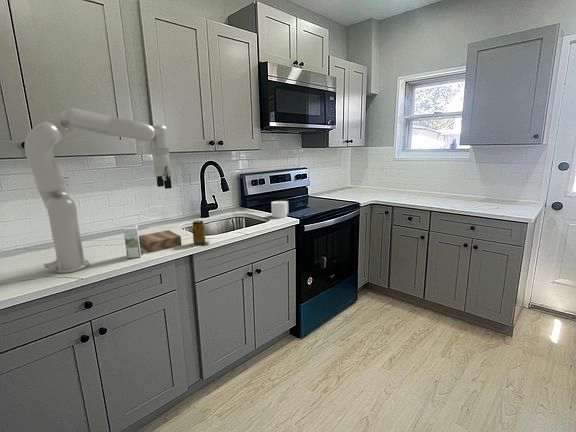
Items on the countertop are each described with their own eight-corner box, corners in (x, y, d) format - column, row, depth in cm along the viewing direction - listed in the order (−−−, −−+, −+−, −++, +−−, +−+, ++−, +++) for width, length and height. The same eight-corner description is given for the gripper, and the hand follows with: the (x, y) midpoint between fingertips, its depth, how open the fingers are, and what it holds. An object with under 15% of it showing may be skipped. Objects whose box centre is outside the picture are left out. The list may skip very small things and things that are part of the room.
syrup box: (141, 253, 154) (137, 224, 150) (140, 257, 148) (136, 227, 145) (128, 255, 152) (123, 225, 148) (127, 259, 146) (122, 228, 143)
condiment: (194, 241, 171) (192, 220, 168) (210, 241, 171) (208, 219, 169) (191, 246, 164) (189, 223, 161) (208, 245, 164) (206, 222, 162)
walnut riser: (149, 252, 155) (148, 243, 153) (139, 245, 166) (138, 236, 165) (181, 245, 165) (180, 236, 164) (169, 238, 176) (168, 230, 175)
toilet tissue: (269, 217, 221) (269, 203, 219) (275, 213, 233) (274, 200, 230) (284, 218, 218) (283, 204, 216) (289, 214, 229) (289, 200, 227)
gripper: (146, 152, 158) (150, 186, 162) (159, 152, 145) (163, 190, 149) (162, 151, 162) (165, 185, 166) (175, 152, 150) (179, 188, 154)
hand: (164, 187), depth 158 cm, fingers open, 9 cm apart
